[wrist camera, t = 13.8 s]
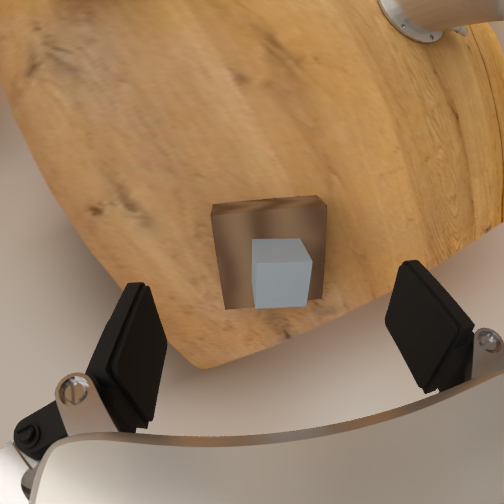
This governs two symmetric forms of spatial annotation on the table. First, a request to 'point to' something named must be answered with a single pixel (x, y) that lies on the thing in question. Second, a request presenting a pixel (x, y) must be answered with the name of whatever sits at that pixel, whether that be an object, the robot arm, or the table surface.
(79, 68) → the table surface
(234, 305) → the walnut block
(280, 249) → the slate cube
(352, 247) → the table surface
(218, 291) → the table surface
